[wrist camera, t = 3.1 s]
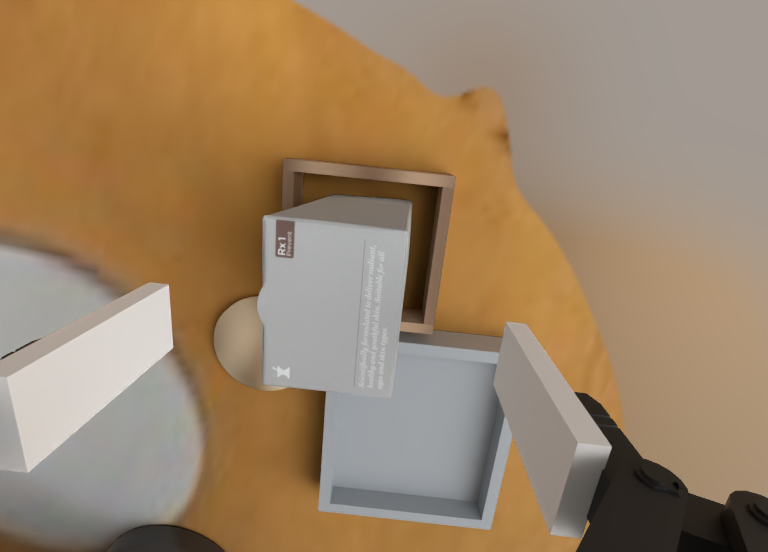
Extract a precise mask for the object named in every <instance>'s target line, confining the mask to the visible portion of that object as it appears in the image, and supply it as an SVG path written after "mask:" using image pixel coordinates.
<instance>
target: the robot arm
mask: <svg viewBox="0 0 768 552" xmlns="http://www.w3.org/2000/svg"><path fill="white" fill-rule="evenodd" d="M172 348H173V338H172V324H171V310H170V296H169V284H160V283H151V282H149V283H147V284H145V285H143V286H141V287H139V288H138V289H136V290H134V291H132V292H130V293H128V294H126V295H124V296H122V297H120V298H118V299H116V300H115V301H113V302H111V303H109V304H107V305H105V306H103V307H101V308H99V309H97V310H95V311H93V312H92V313H90V314H88V315H86V316H84V317H82V318H80V319H78V320H76V321H74V322H72V323H71V324H69V325H67V326H65V327H63V328H61V329H59V330H57V331H55V332H53V333H51V334H49V335H48V336H46V337H44V338H41V339H38V340H35V341H32V342H30V343H28V344H26V345H24V346H22V347H20V348H19V349H17V350H15V352H11V353H9V354H7V355H5V356H3V357H2V358H1V359H0V470H8V471H16V472H25V473H28V472H29V471H31V470H32V469H33V468H34V467H35V466H36V465H37V464H39V463H40V462H41V461H42V460H43V459H44V458H46V457H47V456H48V455H49V454H50V453H51V452H53V451H54V450H55V449H56V448H57V447H58V446H60V445H61V444H62V443H63V442H64V441H65V440H67V439H68V438H69V437H70V436H71V435H72V434H74V433H75V432H76V431H77V430H78V429H79V428H81V427H82V426H83V425H84V424H85V423H86V422H87V421H89V420H90V419H91V418H92V417H93V416H94V415H96V414H97V413H98V412H99V411H100V410H101V409H103V408H104V407H105V406H106V405H107V404H108V403H110V402H111V401H112V400H113V399H114V398H115V397H117V396H118V395H119V394H120V393H121V392H122V391H124V390H125V389H126V388H127V387H128V386H129V385H130V384H132V383H133V382H134V381H135V380H136V379H137V378H139V377H140V376H141V375H142V374H143V373H144V372H146V371H147V370H148V369H149V368H150V367H151V366H153V365H154V364H155V363H156V362H157V361H158V360H160V359H161V358H162V357H163V356H164V355H165V354H167V353H168V352H169V351H170V350H171V349H172ZM493 385H494V388H495V391H496V393H497V396H498V398H499V401H500V404H501V406H502V409H503V412H504V414H505V417H506V419H507V422H508V425H509V427H510V430H511V433H512V435H513V438H514V440H515V443H516V446H517V448H518V451H519V454H520V456H521V459H522V462H523V464H524V467H525V469H526V472H527V475H528V477H529V480H530V483H531V485H532V488H533V490H534V493H535V496H536V498H537V501H538V504H539V506H540V509H541V511H542V514H543V517H544V519H545V522H546V525H547V527H548V530H549V533H550V535H558V536H567V537H575V538H582V535H583V532H584V529H585V526H586V523H587V520H589V522H590V525H589V527H588V529H587V531H586V533H585V535H584V537H583V539H582V541H581V543H580V545H579V547H578V549H577V551H576V552H768V498H766V497H764V496H762V495H759V494H756V493H752V492H748V491H734V492H733V493H731V494H730V495H729V498H728V500H727V502H726V504H725V505H723V504H720V503H717V502H714V501H711V500H708V499H705V498H702V497H699V496H696V495H693V494H690V493H688V489H687V488H686V486H685V485H684V483H683V482H682V481H681V480H680V479H679V478H678V477H677V476H676V475H675V474H673V473H672V472H671V471H669V470H668V469H666V468H664V467H663V466H661V465H659V464H657V463H654V462H652V461H649V460H647V459H643V458H642V457H641V456H640V454H639V453H638V452H637V450H636V449H635V448H634V446H633V445H632V444H631V443H630V441H629V440H628V439H627V437H626V436H625V435H624V434H623V432H622V431H621V430H620V428H618V426H617V424H616V423H615V422H614V421H613V419H612V418H610V415H609V414H608V413H607V412H606V410H605V409H604V408H603V406H602V405H601V404H600V403H598V402H597V401H596V400H594V399H593V398H592V397H590V396H589V395H588V394H586V393H578V392H573V390H572V389H571V387H570V386H569V385H568V383H567V382H566V380H565V379H564V377H563V376H562V375H561V373H560V372H559V370H558V369H557V367H556V366H555V365H554V363H553V362H552V360H551V359H550V357H549V356H548V355H547V353H546V352H545V350H544V349H543V347H542V346H541V345H540V343H539V342H538V340H537V339H536V337H535V336H534V335H533V333H532V332H531V330H530V329H529V327H528V326H527V325H526V324H523V323H514V322H506V324H505V329H504V334H503V338H502V343H501V348H500V353H499V357H498V362H497V367H496V372H495V376H494V381H493ZM107 552H224V551H223V550H222V549H221V548H219V547H218V546H217V545H216V544H214V543H213V542H211V541H210V540H208V539H207V538H205V537H203V536H201V535H199V534H196V533H194V532H191V531H188V530H185V529H181V528H177V527H171V526H147V527H142V528H138V529H134V530H132V531H129V532H127V533H125V534H124V535H122V536H121V537H119V538H118V539H117V540H116V541H115V542H114V543H113V544H112V546H111V547H110V548H109V550H108V551H107Z"/></svg>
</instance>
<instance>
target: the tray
mask: <svg viewBox="0 0 768 552" xmlns="http://www.w3.org/2000/svg"><path fill="white" fill-rule="evenodd" d="M502 338H503V337H494V336H485V335H475V334H466V333H457V332H447V331H438V330H433V335H432V334H423V333H413V332H404V331H400V333H399V342H398V350H397V358H396V367H395V375H394V383H393V389H392V396H391V397H390V398H383V397H371V396H361V395H353V394H346V393H338V392H328V391H326V401H325V416H324V431H323V447H322V462H321V478H320V493H319V509H318V511H325V512H334V513H343V514H352V515H361V516H370V517H379V518H388V519H397V520H406V521H415V522H424V523H434V524H443V525H452V526H461V527H470V528H479V529H488V530H491V525H492V521H493V517H494V513H495V508H496V504H497V500H498V496H499V491H500V487H501V483H502V478H503V474H504V470H505V466H506V461H507V457H508V453H509V448H510V444H511V440H512V436H513V435H512V433H511V430H510V427H509V425H508V422H507V419H506V417H505V414H504V412H503V409H502V406H501V404H500V401H499V398H498V396H497V393H496V391H495V388H494V385H493V381H494V376H495V372H496V367H497V362H498V357H499V353H500V348H501V343H502Z"/></svg>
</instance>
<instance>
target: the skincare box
mask: <svg viewBox="0 0 768 552" xmlns="http://www.w3.org/2000/svg"><path fill="white" fill-rule="evenodd" d="M411 215H412V202H411V201H410V200H404V199H391V198H379V197H365V196H349V195H336V194H334V195H331V196H328V197H325V198H322V199H319V200H316V201H313V202H309V203H306V204H303V205H300V206H298V207H294V208H291V209H287V210H284V211H280V212H277V213H273V214H270V215H265V216H264V217H263V220H262V221H263V287H262V289H261V290H260V292H259V296H258V299H257V310H258V315H259V318H260V320H261V322H262V381H263V383H264V384H265V385H269V386H279V387H289V388H299V389H308V390H318V391H328V392H338V393H346V394H353V395H361V396H371V397H383V398H390V397H391V396H392V389H393V383H394V375H395V367H396V358H397V350H398V342H399V333H400V325H401V316H402V307H403V298H404V291H405V284H406V275H407V267H408V258H409V247H410V234H411Z"/></svg>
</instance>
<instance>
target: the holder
mask: <svg viewBox="0 0 768 552" xmlns="http://www.w3.org/2000/svg"><path fill="white" fill-rule="evenodd" d="M304 173H314V174H323V175H333V176H342V177H352V178H361V179H371V180H380V181H390V182H400V183H409V184H419V185H428V186H438V194H437V201H436V209H435V216H434V223H433V231H432V238H431V245H430V252H429V260H428V267H427V274H426V282H425V289H424V296H423V303H422V310H420V309H410V308H402V316H401V325H400V331H404V332H413V333H423V334H432V335H433V328H434V321H435V314H436V308H437V301H438V294H439V288H440V281H441V274H442V267H443V261H444V254H445V247H446V241H447V234H448V227H449V220H450V214H451V207H452V200H453V194H454V187H455V180H456V176H454V175H451V174H443V173H433V172H424V171H414V170H404V169H395V168H385V167H376V166H366V165H357V164H347V163H337V162H328V161H318V160H309V159H299V158H283V179H282V211H284V210H287V209H291V208H294V207H298V206H300V205H303V179H304Z"/></svg>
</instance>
